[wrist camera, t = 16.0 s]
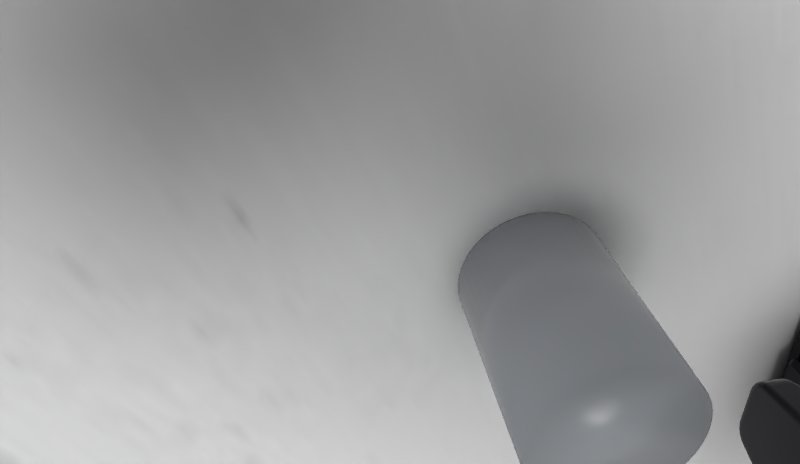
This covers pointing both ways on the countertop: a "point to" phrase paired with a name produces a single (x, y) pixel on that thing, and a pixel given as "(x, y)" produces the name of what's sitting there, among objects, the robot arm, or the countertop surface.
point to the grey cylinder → (577, 350)
